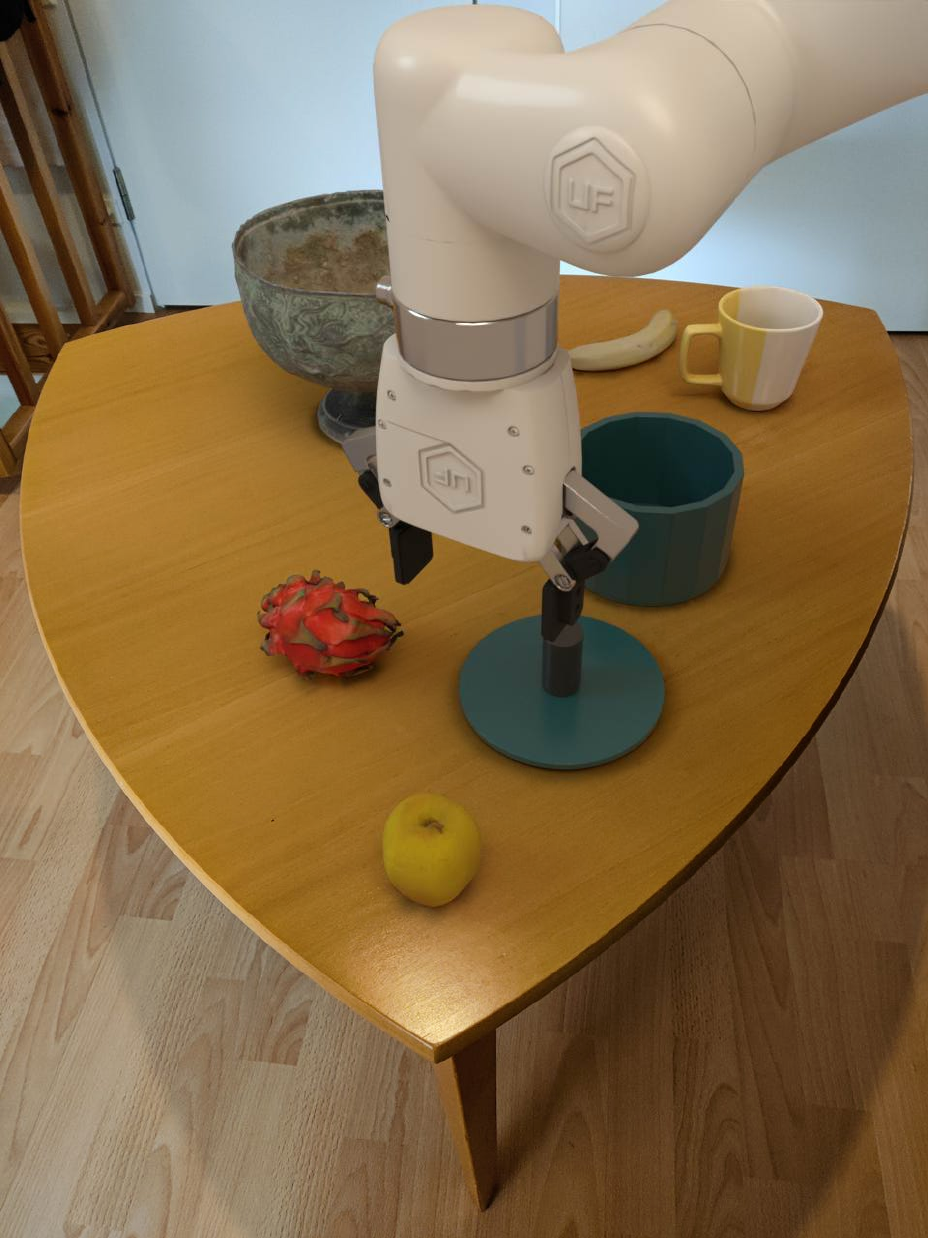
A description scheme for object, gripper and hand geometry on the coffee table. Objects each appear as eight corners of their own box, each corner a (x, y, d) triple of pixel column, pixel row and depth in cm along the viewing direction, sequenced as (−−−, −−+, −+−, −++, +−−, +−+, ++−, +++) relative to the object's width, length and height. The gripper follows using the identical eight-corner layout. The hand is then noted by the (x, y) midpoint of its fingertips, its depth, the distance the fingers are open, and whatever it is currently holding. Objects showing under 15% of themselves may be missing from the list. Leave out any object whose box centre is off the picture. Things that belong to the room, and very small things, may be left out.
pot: (748, 529, 91) (766, 436, 84) (691, 627, 82) (707, 532, 75) (602, 487, 97) (608, 396, 90) (534, 574, 88) (535, 481, 81)
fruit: (699, 350, 116) (703, 323, 113) (591, 386, 111) (593, 359, 108) (662, 326, 120) (664, 300, 118) (556, 359, 115) (557, 333, 113)
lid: (693, 662, 79) (704, 601, 75) (613, 807, 70) (619, 746, 65) (517, 601, 86) (517, 540, 81) (421, 725, 76) (415, 664, 71)
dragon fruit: (261, 655, 84) (399, 686, 83) (228, 674, 76) (381, 709, 75) (279, 557, 83) (419, 587, 82) (247, 565, 74) (403, 599, 74)
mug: (798, 374, 111) (817, 284, 103) (808, 425, 103) (829, 331, 96) (673, 370, 112) (683, 281, 105) (674, 419, 105) (685, 327, 98)
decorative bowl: (214, 399, 111) (178, 220, 97) (403, 330, 122) (396, 161, 108) (342, 519, 96) (322, 328, 82) (544, 427, 107) (557, 246, 93)
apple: (473, 934, 63) (469, 864, 58) (376, 918, 64) (362, 847, 59) (491, 849, 68) (489, 776, 62) (400, 835, 69) (390, 762, 63)
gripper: (278, 316, 47) (326, 587, 59) (614, 408, 40) (591, 694, 52) (369, 255, 52) (397, 518, 63) (685, 328, 45) (649, 608, 56)
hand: (484, 597), depth 58 cm, fingers open, 9 cm apart
